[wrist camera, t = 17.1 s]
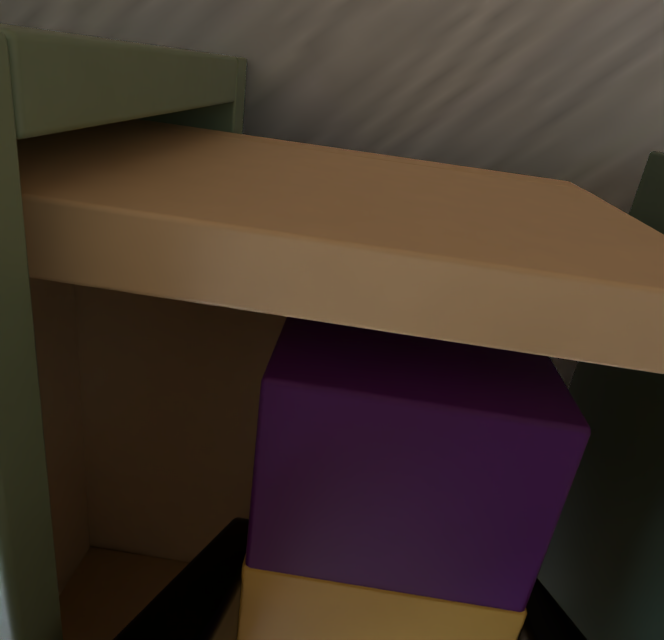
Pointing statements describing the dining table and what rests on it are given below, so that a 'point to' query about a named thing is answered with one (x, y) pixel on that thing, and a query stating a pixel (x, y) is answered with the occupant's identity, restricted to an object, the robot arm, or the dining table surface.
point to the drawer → (324, 306)
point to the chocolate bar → (402, 486)
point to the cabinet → (12, 262)
